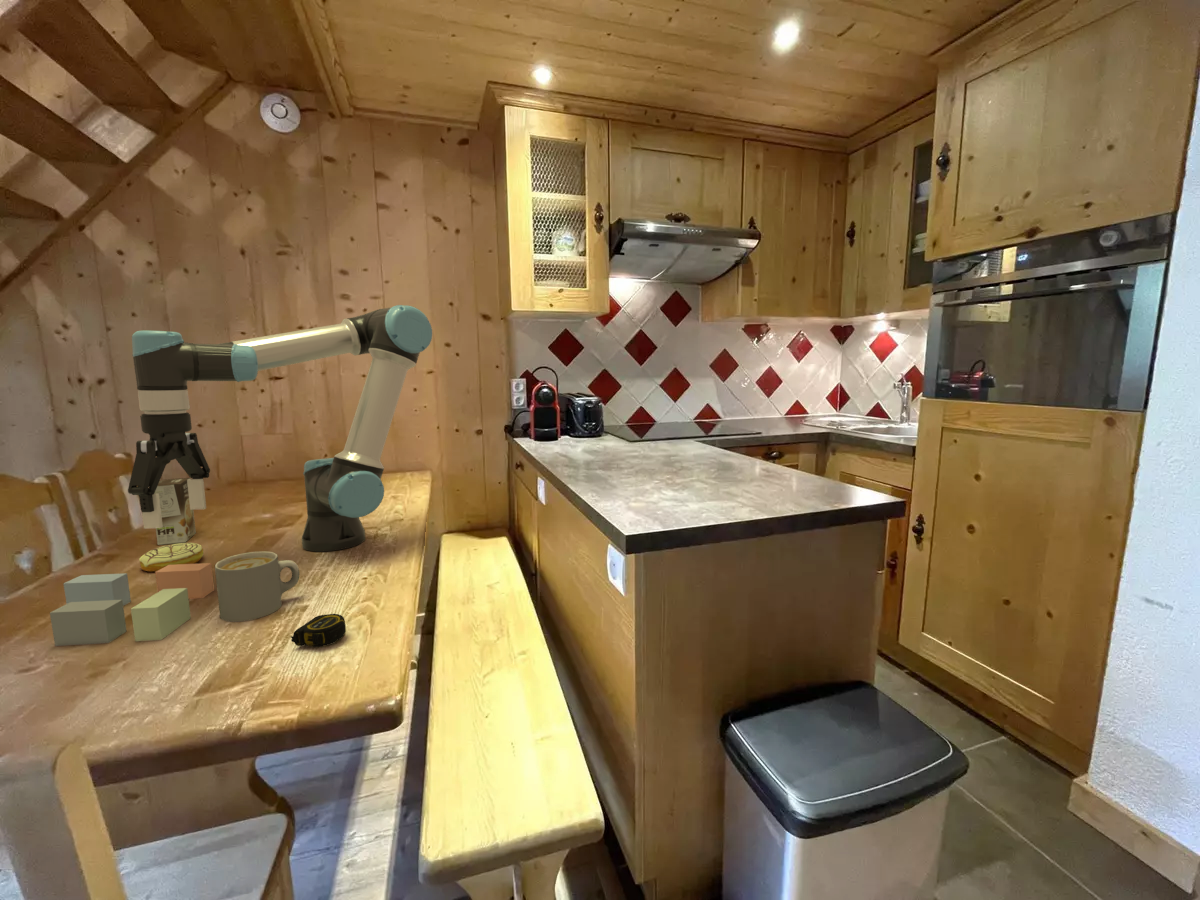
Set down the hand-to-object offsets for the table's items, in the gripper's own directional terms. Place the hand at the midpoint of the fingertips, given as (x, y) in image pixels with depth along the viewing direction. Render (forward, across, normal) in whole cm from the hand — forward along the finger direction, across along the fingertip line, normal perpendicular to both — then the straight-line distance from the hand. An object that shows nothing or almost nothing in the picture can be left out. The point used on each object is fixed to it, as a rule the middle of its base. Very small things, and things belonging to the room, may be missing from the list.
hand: (177, 518), depth 104 cm
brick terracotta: (+16, 0, 0) cm, 16 cm away
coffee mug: (+16, +8, +18) cm, 26 cm away
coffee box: (+16, -39, -25) cm, 49 cm away
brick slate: (+16, +17, -5) cm, 24 cm away
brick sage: (+16, +15, +5) cm, 23 cm away
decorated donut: (+17, -19, -14) cm, 29 cm away
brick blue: (+16, +4, -13) cm, 21 cm away
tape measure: (+17, +23, +34) cm, 44 cm away
